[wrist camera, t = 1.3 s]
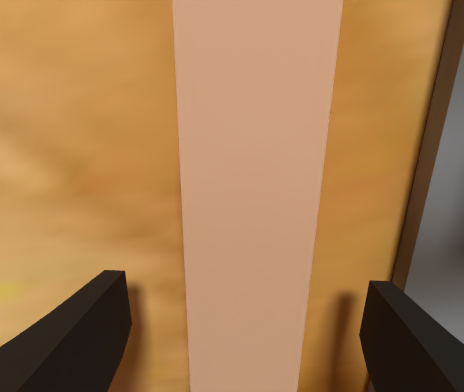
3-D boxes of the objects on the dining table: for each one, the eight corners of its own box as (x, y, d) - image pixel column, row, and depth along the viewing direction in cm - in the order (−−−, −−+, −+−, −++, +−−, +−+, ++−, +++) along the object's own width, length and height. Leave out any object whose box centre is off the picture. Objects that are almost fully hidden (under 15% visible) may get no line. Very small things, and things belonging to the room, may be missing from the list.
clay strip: (270, 416, 16) (276, 564, 12) (213, 412, 17) (198, 557, 12) (303, 9, 10) (343, -7, 5) (209, 8, 10) (172, -9, 6)
